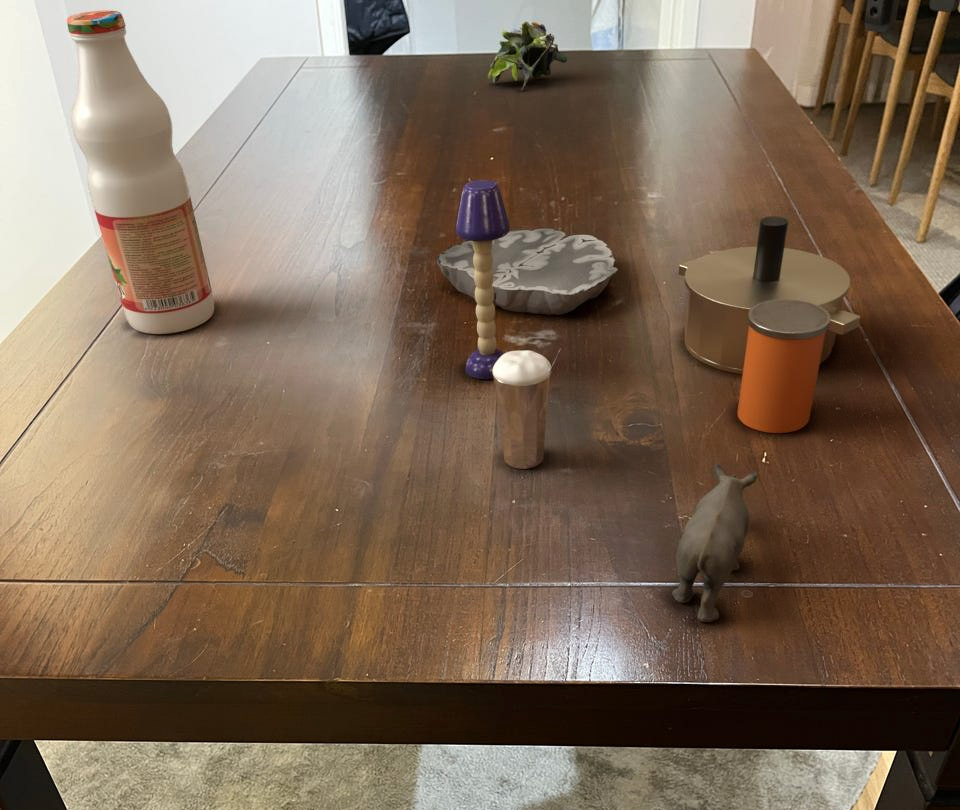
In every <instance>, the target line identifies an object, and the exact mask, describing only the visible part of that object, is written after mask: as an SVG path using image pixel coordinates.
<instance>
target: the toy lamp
mask: <svg viewBox="0 0 960 810" xmlns="http://www.w3.org/2000/svg"><path fill="white" fill-rule="evenodd" d="M509 231H510V222H509V219H508V215H507V210H506V207H505V203H504V199H503V196H502V192H501V189H500V186H499V184H498V183H497V182H495V181H493V180H488V179H477V180H472V181H469V182H467V183H466V184H464V185H463V188H462V193H461V198H460V203H459V208H458V214H457V220H456V225H455V232H456V235H457V236H458V237H459V238H460V239H461V240H465V241H467V240H470V241H472V245H473V249H474V251H475V253H474V256H473V264H474V267H475V269H476V270H475V273H474V281H475V285H476V289H475V299H474V300H475V302H476V306H475V315H476V319H477V323H476V332H477V335H478V338H477V350H474V351H473V352H472V353H471V354H470V355H469V356H468V358H467V360H466V363H465V373H466V375H467V376H469V377H471V378H474V379H476V380H477V379H478V380H492V379H493V380H494V378H493V366H494V365H495V363H496V362H497V360H498V359H499V358H500V357H501V356H502V355H503V354H505V353H504V352H503V351H502V350H500V349H498V348H497V339H496V336H495V334H496V331H497V325H496V322H495V316H496V306H494V304H493V300H494V290H493V287H492V284H493V278H494V277H493V272H492V269H491V268H492V265H493V256H492V253H491V249H492V245H493V240H495V239H499V238H502V237H504V236H506V235H507V234H508V232H509Z"/></svg>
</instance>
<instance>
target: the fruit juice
mask: <svg viewBox="0 0 960 810" xmlns="http://www.w3.org/2000/svg"><path fill="white" fill-rule="evenodd" d="M66 24H67V29H68V33H69V34H70V39H71V40H72V41H73V42H75V44H76V49H77V62H78V66H77V67H78V75H77V76H78V79H77V80H78V81H77V92H76V96H75V99H74V101H73V105H72V108H71V114H70V123H71V129H72V134H73V136H74V139H75V141H76V143H77V145H78V147H79V149H80V150H81V152H82V154H83V155H84V158H85V160H86V164H87V173H86V182H87V187H88V191H89V192H88V193H89V196H90V201H91V204H92V208H93V211H94V214H95V218H96V220H97V224H98V227H99V231H100V235H101V238H102V241H103V244H104V249H105V251H106V255H107V258H108V261H109V265H110V268H111V272H112V275H113V279H114V282H115V287H116V289H117V293H118V295H119V299H120V302H121V307H122V310H123V313H124V316H125V318H126V321H127V322H128V324H129V326H131V328H133V329H134V330H135V331H138V332H140V333H144V334H150V335H167V334H175V333H180V332H185V331H188V330H192V329H193V328H197V327H198V326H200V325H202V324H204V323H206V322H207V321H208V320H210V318H212V317H213V315H214V312H215V297H214V293H213V289H212V286H211V281H210V276H209V272H208V267H207V263H206V258H205V254H204V250H203V246H202V242H201V238H200V237H201V236H200V232H199V229H198V224H197V220H196V215H195V210H194V207H193V202H192V198H191V193H190V187H189V184H188V181H187V177H186V173H185V171H184V168H183V165H182V164H181V162H180V160H179V159H178V158H177V156H176V154H175V151H174V148H173V121H172V118H171V113H170V111H169V108H168V106H167V104H166V103H165V101H164V99H163V98H162V97H161V96H160V95H159V94H158V93H157V91H156V90H155V89H154V88H153V87H152V86H151V84H149V82H148V80H147V79H146V78H145V76H144V75H143V72H141V70H140V68H139V66H138V64H137V62H136V60H135V58H134V57H133V54H132V53H131V51H130V48H129V46H128V44H127V41H126V35H127V30H126V21H125V19H124V17H123V14H122V12H120V11H118V10H109V9H108V10H107V9H105V10H104V9H103V10H93V11H86V12H79V13H76V14H73V15H70V16H68V17H67V19H66Z"/></svg>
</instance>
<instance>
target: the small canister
mask: <svg viewBox="0 0 960 810" xmlns="http://www.w3.org/2000/svg"><path fill="white" fill-rule="evenodd" d="M830 321H831V317H830V314H829V313H828V312H827V311H826V310H825V309H824V308H822V307H820V306H818V305H816V304H813V303H810V302H806V301H800V300H791V299H779V300H770V301H765V302H762V303H759V304H757V305H755V306H754V307H752V308H751V309H750V311H749V313H748V324H749V331H748V339H747V346H746V353H745V360H744V368H743V374H741V383H740V391H739V398H738V406H737V412H736V413H737V418H738V419H739V421H740V422H741V423H742V424H743V425H745V426H746V427H748V428H750V429H752V430H754V431H757V432H758V431H759V432H761V433H768V434H787V433H792V432H796V431H798V430H800V429H803V428H804V427H806V425H807V424H808V423H809V422H810V417H811V412H812V406H813V402H814V401H813V400H814V396H815V392H816V391H815V390H816V385H817V381H818V375H819V369H820V365H821V364H820V360H821V354H822V349H823V344H824V339H825V333H826V331H827V330H828V328H829V326H830Z"/></svg>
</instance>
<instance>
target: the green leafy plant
mask: <svg viewBox="0 0 960 810" xmlns="http://www.w3.org/2000/svg"><path fill="white" fill-rule="evenodd" d="M501 36H502V37H503V38H504V39H505V40H506V41H503V40H499V43H498V44H499V45H500V48H499V49H498V52H497V54H496V55H495V57H494V59H493V61H492V62H491V64H490V69H489V72H488V73H487V79H488V80H489V81H490V80H491V78H492V81H493V84H494V85H496V84H497V82H498V81H499V80H500V77H501V75H502V74H503V73H504V72H506V71H507V70H510V69H511V76H512V78H513V79H514V80H515V81H518V78H519V77H518V70H519V71H522V77H523V80H524V81H523V85H522V87H521V92H522V91H524V89H525V87H526V85H527V83H528V81H529V79H530V76H531V75H532V76H531V77H532V78H534V79H535V80H540V79H541V76H542V75H543V76H549V77H550V76H551V73H552V70H551V64H552V63H553V62H554V61H557V62H560V63H567V62H568V58H567V56H565V55H564V54H562V53H561V52H560V51H559V46H558V44H557V43H554V42H555V38H556V37H555V36H554V34H552V33H548V34H547V29H546V26H545V24H544V23H541V24H540V23H538V22H536V21H532V22H531V24H530V23H529V22H528V21H524V22H522V24H521V27H519V29H517V28H513V30H512V31H510V32H509V31H506V30H505V29H503V30H502V31H501Z"/></svg>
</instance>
